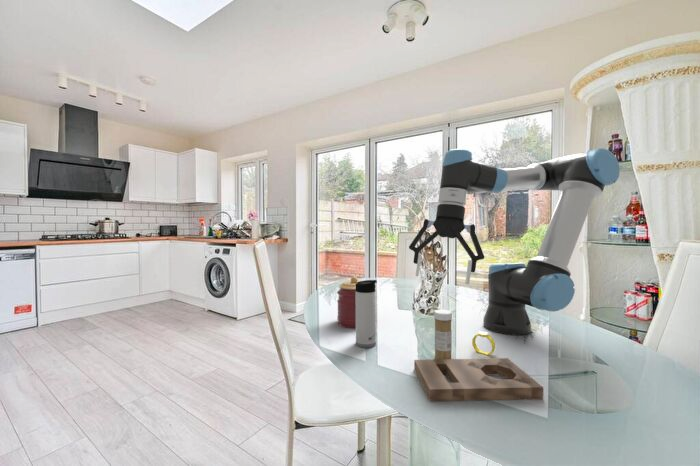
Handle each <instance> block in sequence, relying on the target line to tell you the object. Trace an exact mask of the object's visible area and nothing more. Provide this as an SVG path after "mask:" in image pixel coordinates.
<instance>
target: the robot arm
mask: <svg viewBox="0 0 700 466" xmlns="http://www.w3.org/2000/svg"><path fill="white" fill-rule="evenodd" d="M620 170H621V169H620V165H619V161H618V159H617V157H616V156H615V154H614V153H613V152H612V151H610V150H609V149H606V148H596V149H588V150H587V151H583V152H578V153H573V154H569V155H566V156H565V155H564V156H560V157H557V158H554V159H550V160H547V161H543V162H538V163H532V164H529V165H528V166H527V167H525V166H524V167H515V168H502V167H498V166H497V165H490V164H485V163H482V162H481V163H480V162H477V161H475V160H473V153H472V152H471V151H469V150H468V149H463V148H454V149H450V150H448V151H447V152H446V153H445V154H444V158H443V163H442V170H441V179H440V185H439V186H440V187H439V192H438V193H439V194H438V201H437V202H438V205H437V206H436V215H435V220H434V221H432V220H430V219H427V218H425V219H424V221H423V224H422V227H421V229H420V230H419V231H418V233H417V234H416V235H415V237H414V238H413V240H412V242H411V243H410V244H409V246H408V248H409V250H411V251H412V252H414V256H413V261H412V262H413V264H414V265H415V264H416V270H415V276H416V277H419V276H420V270H421V263H422V255H423V254H422V253H421V251H422V250H423V249H425V248H426V247H427V246H428V245H429V244H430V243H431V242H433V240H435V238H437V237H438V236H439V237H441V238H449V239H455V238H456V239H457V241H458V242H459V243H460V244H461V246H462V248H463V249H464V251H465V252H466V253H467V255H468V257H469V258H470V259H468V260H467V266H466V267H467V269H466V275H465V276H466V277H465V284H466V285H470V282H471V281H470V280H471V273H473V274H474V273H475V272H476V268H477V262H478V261H482V260H484V259H485V255H484V252H483V249H482V246H481V244H480V242H479V239H478V237H477V234H476V225H475V224H472V223H471V224H465V222H464V221H465V213H466V208H465V205H466V204H467V198H468V197H467V196H468V195H473V194H482V193H483V194H484V193H489V194H498V193H501V192H505V191H514V190H526V189H527V190H529V191H534V192H535V191H560V193H561V194H560V196H559V199H558V202H557V204H556V207H555V208H554V211H553V213H552V216H551V219H550V221H549V224H548V225H547V226H548V227H546V228H547V229H546V231H545V233H544V236H543V238H542V242H541V243H540V245H539V249H538V252H537V254H536V257H533V258H532V259H529V260H528V262H527V263H524V262H514V263H513V262H511V263H508V262H507V263H505V262H504V263H492V264H490V265H489V267H488V274H487V277H488V280H487V281H488V282H487V283H488V305H487V308H486V310H485V313H484V317H483V322H482V323H483V325H482V326H483V327H484V328H486V329H487V330H489V331H493V332H496V333H499V334H506V335H517V336H518V335H527V334H530V333H531V332H532V324H531V320H530V317H529V314H528V311H527V308H526V306H529V307H532V308H536V309H537V310H540V311H546V312H551V313H553V312H559V311H560V310H563V309H564V308H567V307H568V305H570V303H571V302H572V300H573V299H574V296H575V292H576V289H575V288H574V287H575V283H574V281H573V279H572V278H571V274H572V273H571V271H570V269H569V268H568V265H569V263H570V261H571V257H572V255H573V253H574V250H575V247H576V245H577V242H578V240H579V237H580V234H581V232H582V229H583V227H584V224H585V222H586V219H587V217H588V214H589V212H590V208H591V206H592V203H593V201H594V199H597V198H599V197H601V195H603V192H604V188H605V186H611V185H613V184H615V183H616V182H617V181H618V179H619V176H620ZM432 226H433V228H434V229H435V231H434V232H433V233H431V234H430V236H429V237H428V238H426V239H425V240H424V241H423V242H422V243H421V244H419V245H418V246H417V244H418V243H419V241H420V240H421V238H422V237H423V236H424V234H425V232H426V231H427V229H429V228H431V227H432ZM464 230H466V232H467V233H469V235H470V239H471V241H472V244H473V247H474V249H475V252H476V254H477V255H475V253H474V251H473V250H472V248H471V247H470V246H469V244H468V242H467V241H466V240H465V238H464V237H463V235H462V234H461V233H462V232H463V231H464ZM416 246H417V247H416Z"/></svg>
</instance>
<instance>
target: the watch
mask: <svg viewBox="0 0 700 466" xmlns="http://www.w3.org/2000/svg"><path fill="white" fill-rule="evenodd" d="M478 337H481V338H486V339H488V340H489V341H490V343H491V347H492V348H491V351H490V352H486V351H483V350H480V349H479V348H478V346H477V344H476V338H478ZM471 344H472V347H473V349H474V350H475V351H476V353H478V354H481V355H485V356H490V355H492V354H493V353H494V352H495V350H496V342H495V341H494V338H493V337H492V336H490V335H489V332H487V331H478V332H477V333H476V334H475V335H474V337H473V338H472V343H471Z"/></svg>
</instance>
